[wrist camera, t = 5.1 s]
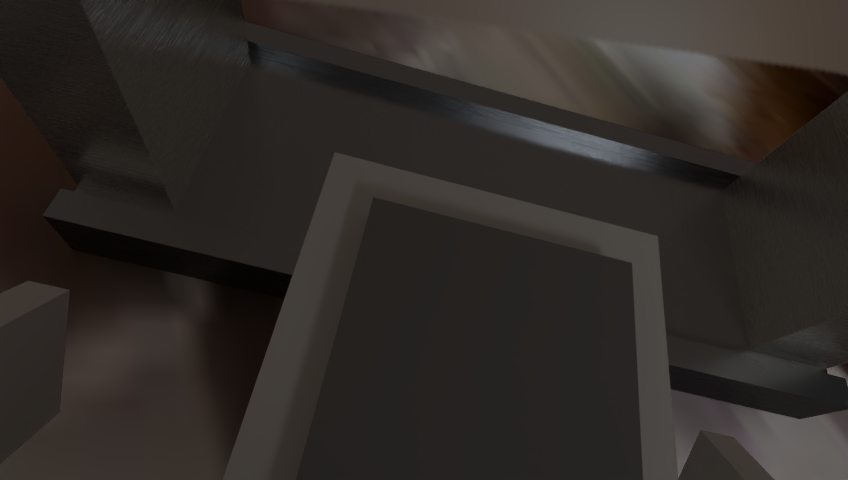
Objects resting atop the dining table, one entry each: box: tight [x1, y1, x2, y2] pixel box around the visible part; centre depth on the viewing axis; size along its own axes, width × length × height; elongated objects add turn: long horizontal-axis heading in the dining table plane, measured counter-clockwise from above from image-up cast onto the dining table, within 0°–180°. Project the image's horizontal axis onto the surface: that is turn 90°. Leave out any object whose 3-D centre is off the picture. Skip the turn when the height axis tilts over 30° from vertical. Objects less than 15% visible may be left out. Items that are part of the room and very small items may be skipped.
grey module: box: [223, 152, 678, 480], centre depth 10 cm, size 4×6×11 cm
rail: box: [0, 0, 848, 419], centre depth 15 cm, size 26×10×10 cm, turn 80°
